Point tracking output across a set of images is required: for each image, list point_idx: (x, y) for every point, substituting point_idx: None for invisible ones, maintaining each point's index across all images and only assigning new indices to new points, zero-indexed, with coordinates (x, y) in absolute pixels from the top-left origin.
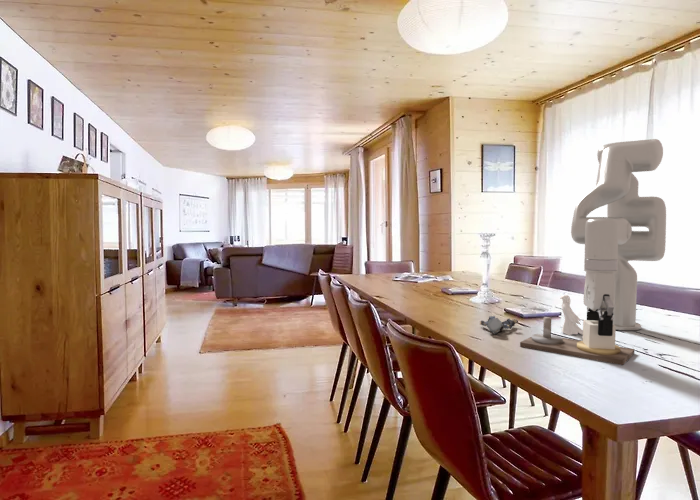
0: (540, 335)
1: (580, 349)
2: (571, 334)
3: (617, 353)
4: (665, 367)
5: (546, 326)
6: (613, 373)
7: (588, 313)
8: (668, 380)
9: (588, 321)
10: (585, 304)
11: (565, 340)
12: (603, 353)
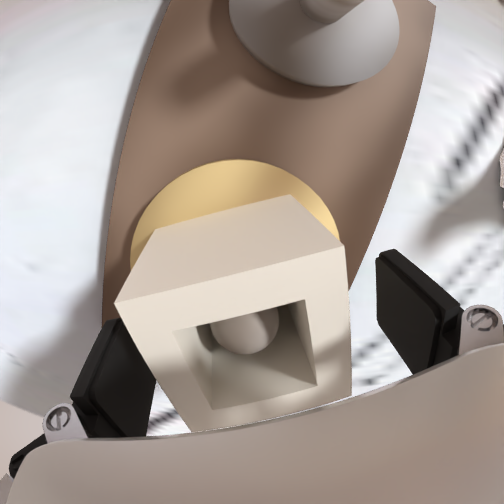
0: None
1: (173, 180)
2: (500, 163)
3: None
4: (168, 416)
5: None
6: (7, 293)
7: (431, 311)
8: (54, 397)
9: (284, 292)
10: (417, 390)
11: (366, 106)
12: None
